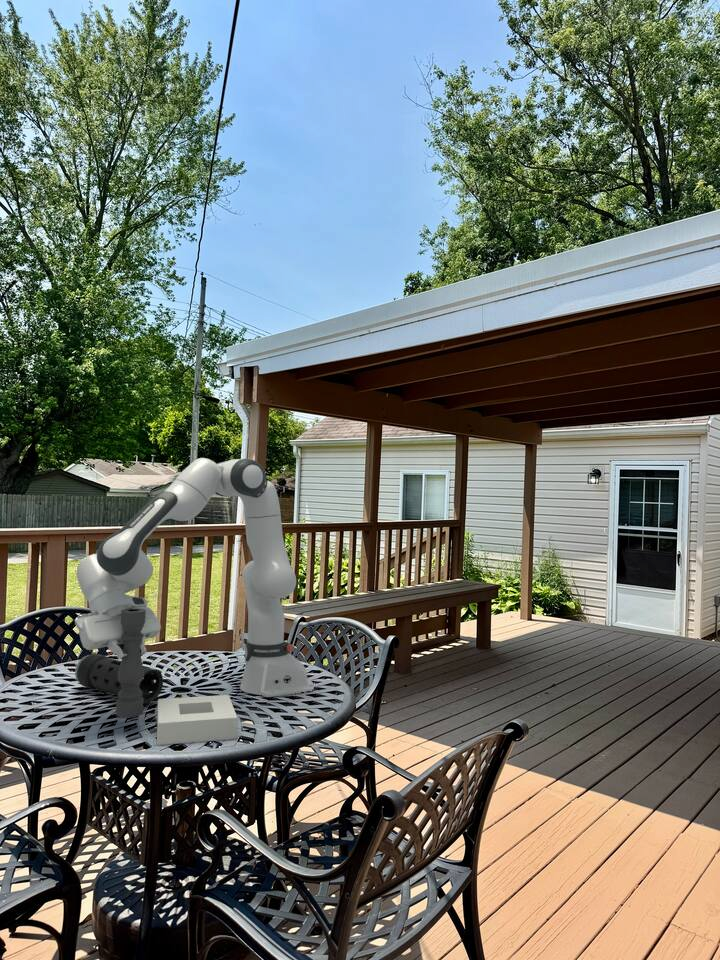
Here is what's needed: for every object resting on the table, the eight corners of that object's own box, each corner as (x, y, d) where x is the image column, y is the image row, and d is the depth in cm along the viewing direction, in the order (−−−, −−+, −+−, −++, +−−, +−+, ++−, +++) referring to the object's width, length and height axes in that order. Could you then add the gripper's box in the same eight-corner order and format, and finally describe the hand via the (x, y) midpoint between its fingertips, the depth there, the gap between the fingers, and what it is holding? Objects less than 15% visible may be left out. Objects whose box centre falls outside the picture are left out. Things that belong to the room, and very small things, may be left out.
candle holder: (117, 709, 152) (121, 608, 153) (144, 708, 153) (148, 607, 154) (113, 718, 146) (118, 612, 147) (141, 717, 147) (145, 612, 148)
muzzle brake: (134, 711, 163) (136, 672, 164) (71, 691, 178) (73, 655, 178) (163, 702, 171) (165, 665, 172) (100, 684, 186) (102, 650, 186)
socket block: (227, 713, 164) (228, 694, 164) (236, 738, 147) (237, 717, 147) (156, 718, 158) (158, 699, 158) (156, 745, 141) (158, 723, 141)
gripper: (77, 607, 146) (99, 655, 140) (151, 598, 163) (173, 640, 157) (67, 623, 148) (87, 672, 142) (140, 612, 165) (161, 655, 159)
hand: (133, 655), depth 150 cm, fingers closed on candle holder, 4 cm apart
